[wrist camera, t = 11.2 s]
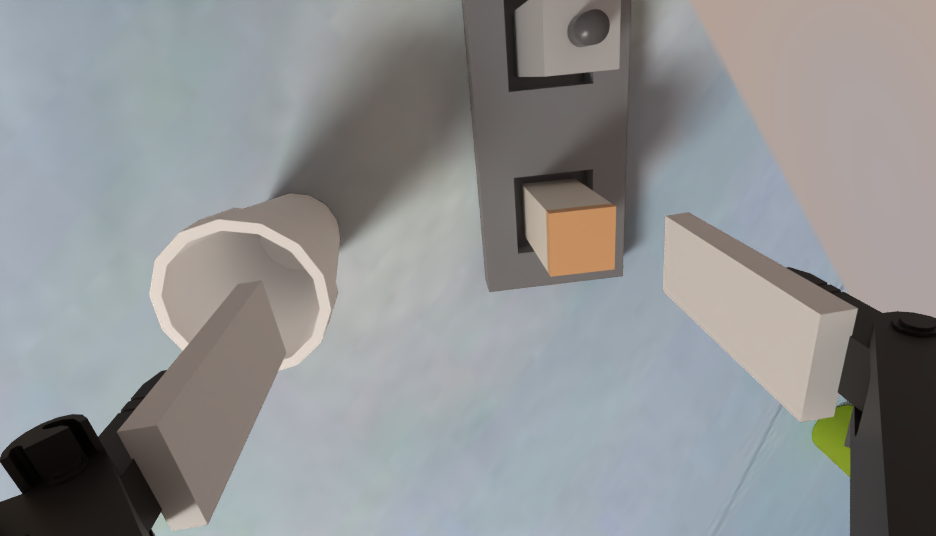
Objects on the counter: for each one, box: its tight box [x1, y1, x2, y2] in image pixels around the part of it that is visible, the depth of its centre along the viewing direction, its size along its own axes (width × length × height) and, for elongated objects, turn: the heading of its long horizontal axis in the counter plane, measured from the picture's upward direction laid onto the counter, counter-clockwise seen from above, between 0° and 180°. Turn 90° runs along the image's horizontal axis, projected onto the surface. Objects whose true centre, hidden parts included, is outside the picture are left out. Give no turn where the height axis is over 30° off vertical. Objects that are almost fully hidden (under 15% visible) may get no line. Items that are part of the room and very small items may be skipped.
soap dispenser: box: [812, 405, 853, 477], centre depth 42 cm, size 6×7×20 cm
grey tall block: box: [513, 0, 621, 77], centre depth 29 cm, size 4×4×11 cm
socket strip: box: [462, 0, 631, 292], centre depth 36 cm, size 24×11×2 cm, turn 5°
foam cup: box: [149, 193, 340, 371], centre depth 32 cm, size 10×9×13 cm
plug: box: [522, 178, 616, 277], centre depth 35 cm, size 4×4×9 cm
